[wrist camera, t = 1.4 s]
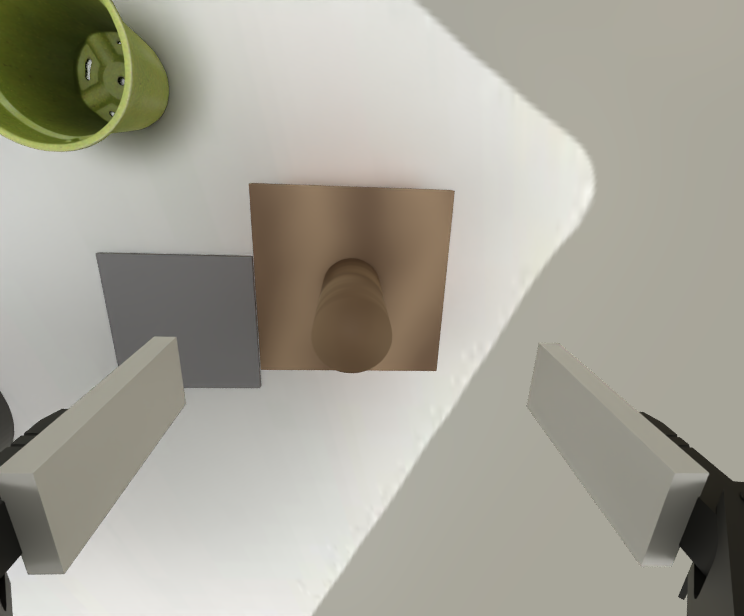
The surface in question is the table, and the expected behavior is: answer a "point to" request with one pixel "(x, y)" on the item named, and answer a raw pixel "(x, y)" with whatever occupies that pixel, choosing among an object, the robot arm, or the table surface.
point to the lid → (349, 276)
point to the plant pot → (74, 74)
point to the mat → (186, 312)
